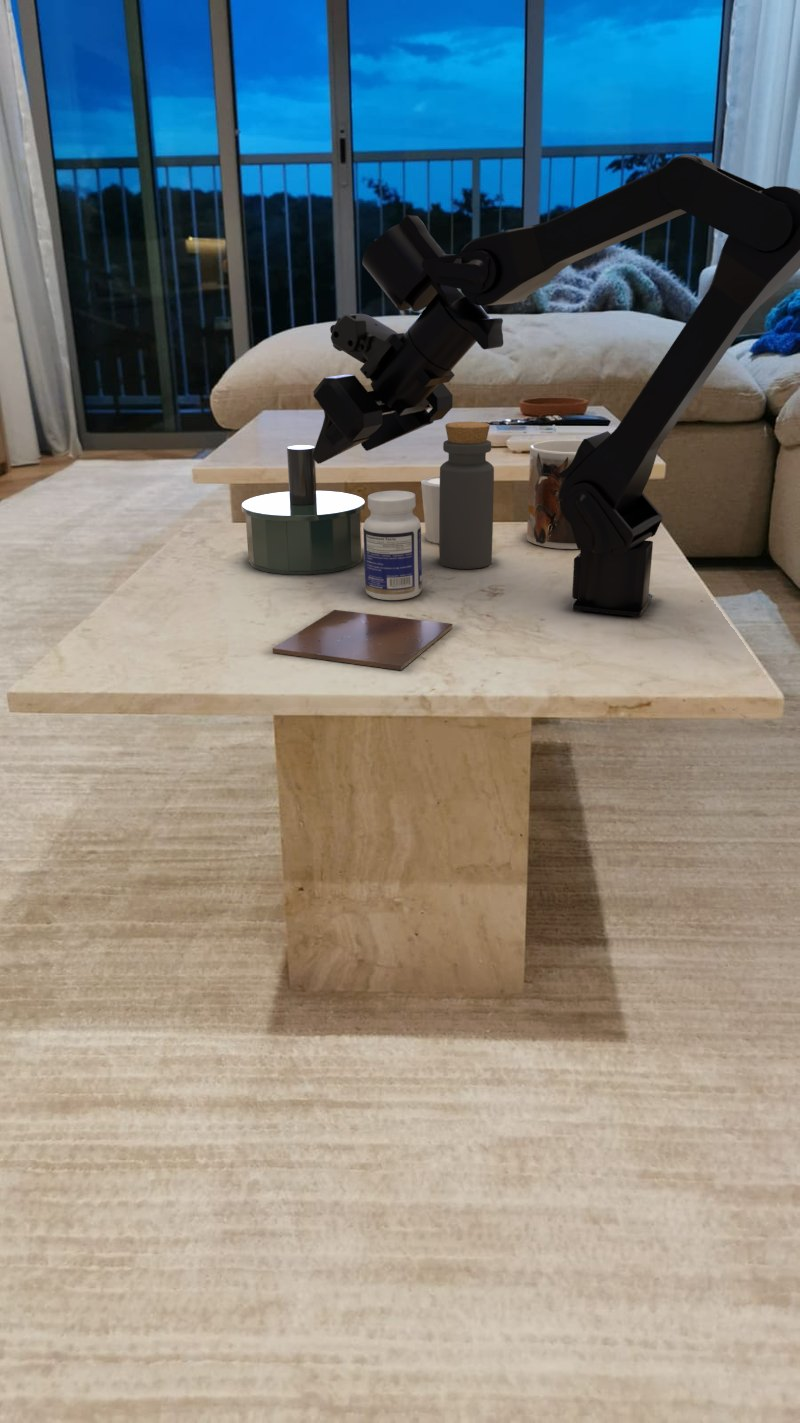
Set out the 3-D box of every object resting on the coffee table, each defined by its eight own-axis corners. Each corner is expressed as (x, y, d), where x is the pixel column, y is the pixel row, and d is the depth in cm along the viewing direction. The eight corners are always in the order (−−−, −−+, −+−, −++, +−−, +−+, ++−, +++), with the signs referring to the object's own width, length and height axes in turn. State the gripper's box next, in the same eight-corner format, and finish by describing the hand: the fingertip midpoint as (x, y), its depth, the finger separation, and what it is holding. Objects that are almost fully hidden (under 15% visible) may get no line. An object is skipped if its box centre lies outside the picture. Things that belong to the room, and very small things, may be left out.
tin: (379, 551, 124) (378, 501, 122) (331, 579, 113) (329, 524, 111) (283, 542, 129) (281, 493, 126) (228, 568, 118) (224, 515, 116)
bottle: (493, 569, 116) (496, 427, 111) (439, 569, 117) (440, 428, 111) (490, 555, 122) (493, 420, 116) (438, 556, 122) (439, 420, 116)
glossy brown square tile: (452, 627, 98) (452, 623, 98) (401, 670, 88) (401, 666, 87) (334, 613, 102) (334, 609, 102) (272, 652, 92) (272, 648, 92)
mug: (593, 527, 134) (599, 437, 130) (637, 550, 123) (645, 452, 119) (514, 533, 132) (517, 441, 127) (552, 557, 121) (557, 457, 117)
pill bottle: (384, 582, 112) (382, 487, 108) (432, 590, 109) (432, 492, 105) (354, 596, 107) (351, 497, 104) (403, 604, 105) (402, 502, 101)
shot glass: (474, 531, 133) (475, 474, 130) (481, 544, 127) (482, 485, 124) (418, 532, 133) (418, 475, 130) (423, 546, 126) (423, 486, 124)
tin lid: (384, 505, 122) (383, 441, 119) (331, 531, 111) (328, 460, 108) (279, 497, 127) (276, 435, 124) (218, 521, 116) (213, 453, 113)
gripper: (428, 282, 112) (343, 386, 122) (326, 286, 97) (239, 404, 107) (494, 364, 111) (403, 462, 121) (401, 380, 97) (306, 491, 106)
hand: (340, 453), depth 114 cm, fingers open, 9 cm apart
